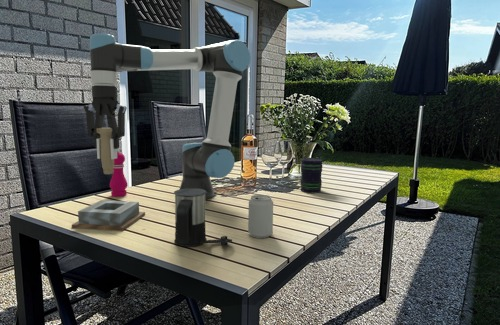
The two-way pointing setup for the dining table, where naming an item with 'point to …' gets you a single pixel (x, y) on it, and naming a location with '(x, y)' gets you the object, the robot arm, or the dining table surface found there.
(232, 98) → the robot arm
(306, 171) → the storage jar
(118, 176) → the pepper mill
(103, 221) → the frame
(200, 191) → the milk frother
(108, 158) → the handle
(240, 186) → the dining table surface
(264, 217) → the can
